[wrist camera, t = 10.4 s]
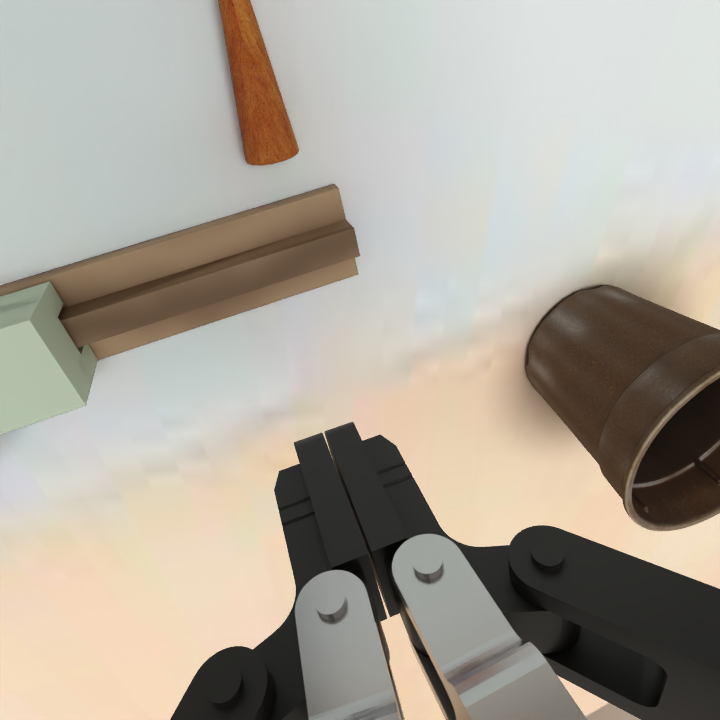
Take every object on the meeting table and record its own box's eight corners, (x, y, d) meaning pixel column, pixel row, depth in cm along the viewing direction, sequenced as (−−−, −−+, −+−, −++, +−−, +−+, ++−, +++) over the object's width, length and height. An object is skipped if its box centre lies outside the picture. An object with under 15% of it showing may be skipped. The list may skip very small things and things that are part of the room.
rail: (-61, 304, 32) (-96, 342, 28) (333, 184, 36) (354, 202, 32) (0, 384, 36) (-23, 428, 32) (353, 268, 39) (374, 294, 35)
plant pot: (684, 301, 51) (860, 390, 38) (582, 428, 57) (706, 545, 43) (580, 232, 44) (755, 315, 30) (473, 386, 49) (583, 514, 36)
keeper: (-34, 306, 31) (-70, 351, 27) (50, 281, 32) (29, 320, 28) (22, 384, 35) (-1, 434, 30) (97, 359, 35) (85, 405, 31)
